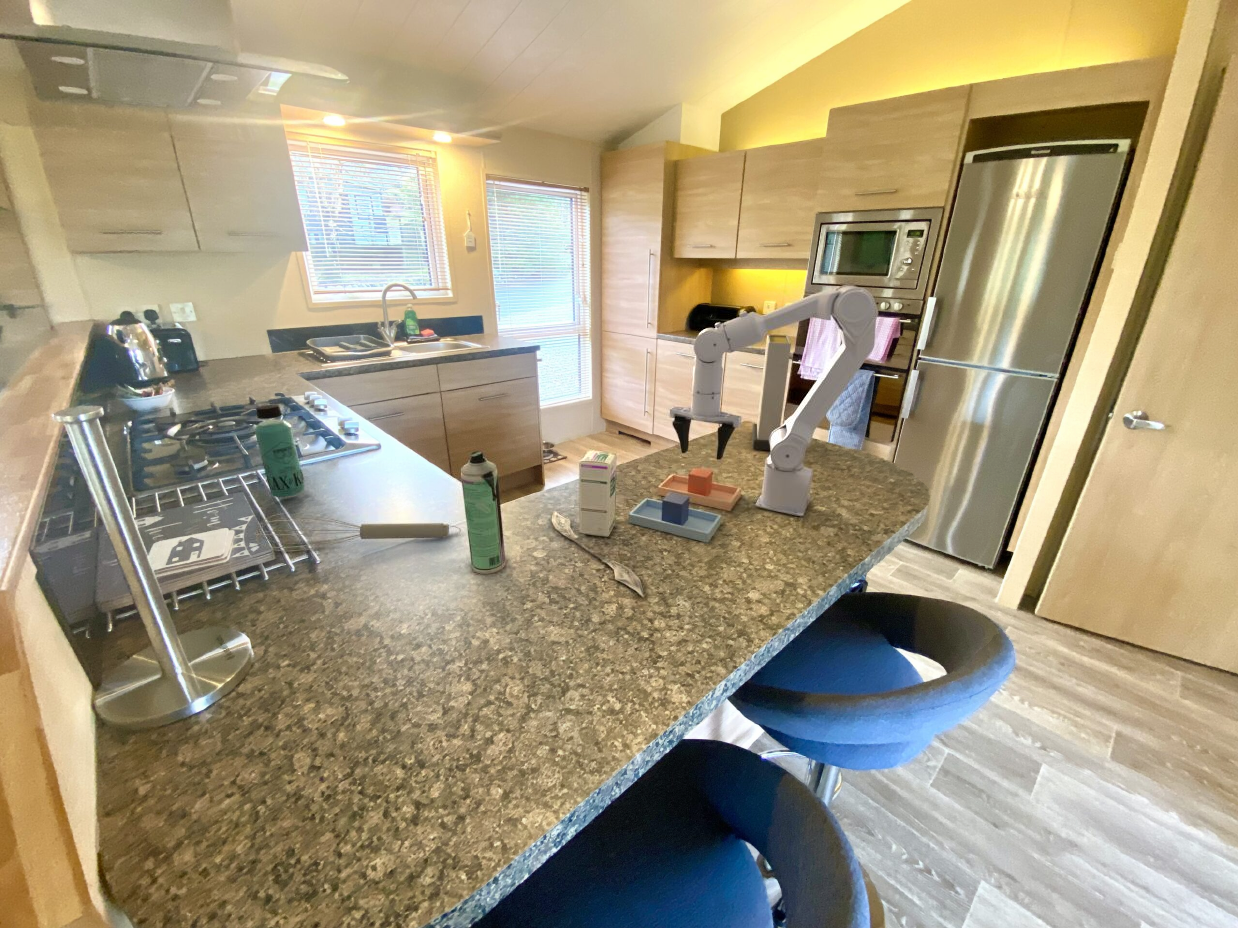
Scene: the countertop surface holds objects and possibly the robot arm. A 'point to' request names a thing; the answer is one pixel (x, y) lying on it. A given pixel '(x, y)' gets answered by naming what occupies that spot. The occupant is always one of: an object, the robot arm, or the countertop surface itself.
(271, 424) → the beverage bottle
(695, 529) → the blue tray
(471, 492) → the spray can
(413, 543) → the countertop surface
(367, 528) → the kitchen whisk
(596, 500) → the syrup box
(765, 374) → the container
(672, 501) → the blue block
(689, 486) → the terracotta block
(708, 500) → the peach tray
